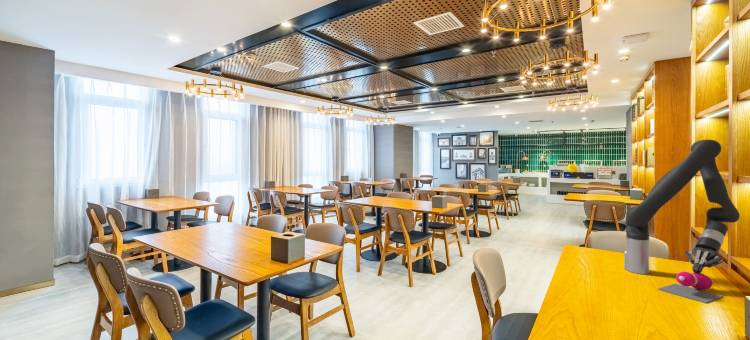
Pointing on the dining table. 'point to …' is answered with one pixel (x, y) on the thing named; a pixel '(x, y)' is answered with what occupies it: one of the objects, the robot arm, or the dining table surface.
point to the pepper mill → (694, 280)
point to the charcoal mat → (690, 293)
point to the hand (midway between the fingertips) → (695, 272)
